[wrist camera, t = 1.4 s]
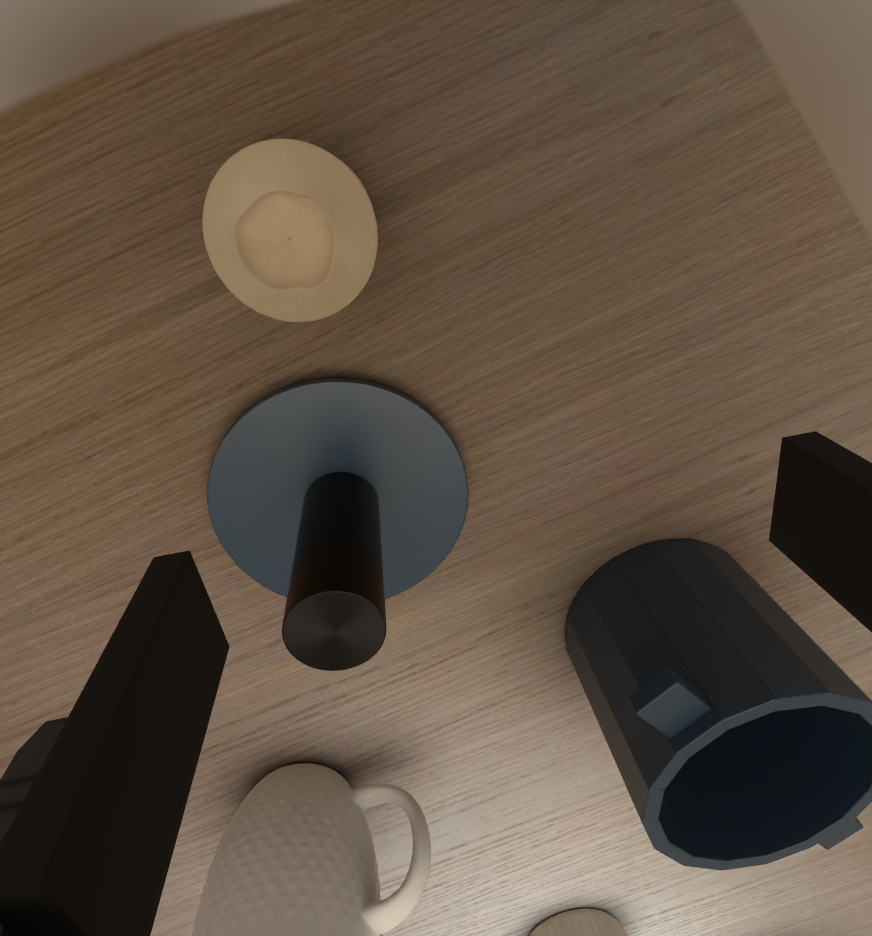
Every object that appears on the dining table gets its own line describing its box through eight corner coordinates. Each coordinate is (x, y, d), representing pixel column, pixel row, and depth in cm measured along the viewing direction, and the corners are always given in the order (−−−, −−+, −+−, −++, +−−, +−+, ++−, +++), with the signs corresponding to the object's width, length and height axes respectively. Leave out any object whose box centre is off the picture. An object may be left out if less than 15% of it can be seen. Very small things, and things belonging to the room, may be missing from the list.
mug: (382, 696, 40) (393, 909, 28) (449, 786, 45) (481, 999, 33) (192, 778, 41) (127, 1014, 30) (276, 857, 46) (249, 1086, 35)
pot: (650, 477, 35) (786, 619, 24) (800, 624, 42) (960, 788, 31) (497, 611, 38) (555, 792, 27) (660, 727, 45) (759, 910, 34)
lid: (322, 317, 29) (302, 393, 19) (514, 480, 34) (579, 608, 24) (160, 508, 32) (70, 659, 22) (357, 629, 37) (356, 795, 27)
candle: (317, 119, 25) (294, 89, 16) (397, 232, 27) (415, 260, 18) (220, 204, 26) (148, 219, 17) (305, 306, 28) (280, 366, 19)
